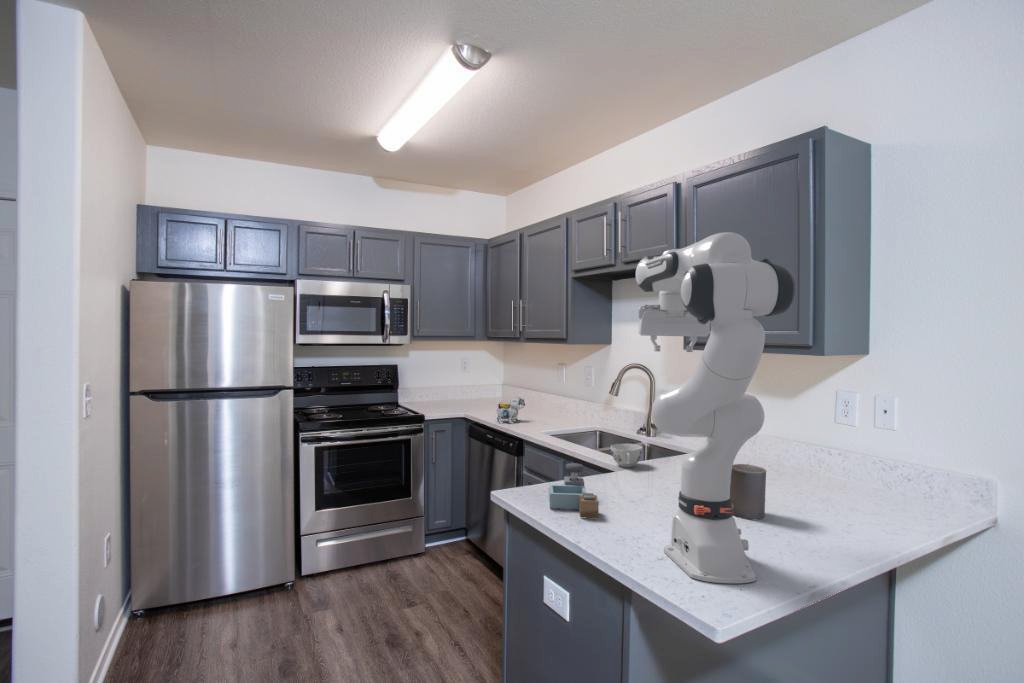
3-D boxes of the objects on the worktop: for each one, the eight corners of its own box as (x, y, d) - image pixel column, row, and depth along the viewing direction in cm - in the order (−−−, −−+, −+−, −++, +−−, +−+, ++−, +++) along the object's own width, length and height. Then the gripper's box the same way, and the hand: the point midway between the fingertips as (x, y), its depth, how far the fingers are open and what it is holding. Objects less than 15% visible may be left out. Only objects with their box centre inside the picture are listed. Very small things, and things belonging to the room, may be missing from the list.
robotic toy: (522, 425, 301) (523, 398, 301) (493, 423, 304) (493, 397, 304) (526, 421, 314) (526, 396, 314) (497, 420, 317) (498, 395, 317)
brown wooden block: (598, 519, 149) (598, 498, 149) (580, 518, 149) (580, 498, 149) (595, 511, 155) (596, 492, 155) (578, 511, 155) (579, 491, 155)
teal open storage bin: (590, 510, 156) (590, 491, 156) (549, 508, 156) (550, 490, 156) (585, 493, 172) (585, 477, 172) (548, 492, 172) (548, 476, 172)
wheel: (583, 484, 166) (583, 467, 166) (565, 483, 166) (566, 467, 166) (582, 479, 172) (582, 463, 172) (564, 479, 172) (565, 462, 172)
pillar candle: (721, 510, 158) (723, 460, 157) (746, 507, 161) (748, 458, 161) (746, 521, 149) (748, 469, 148) (772, 518, 152) (774, 466, 152)
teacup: (609, 461, 217) (609, 442, 217) (640, 462, 216) (640, 443, 215) (611, 470, 202) (612, 450, 202) (645, 472, 201) (645, 451, 200)
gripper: (640, 303, 153) (639, 351, 153) (712, 304, 152) (711, 352, 152) (636, 305, 159) (635, 350, 159) (705, 306, 158) (704, 352, 158)
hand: (673, 351), depth 156 cm, fingers open, 8 cm apart
